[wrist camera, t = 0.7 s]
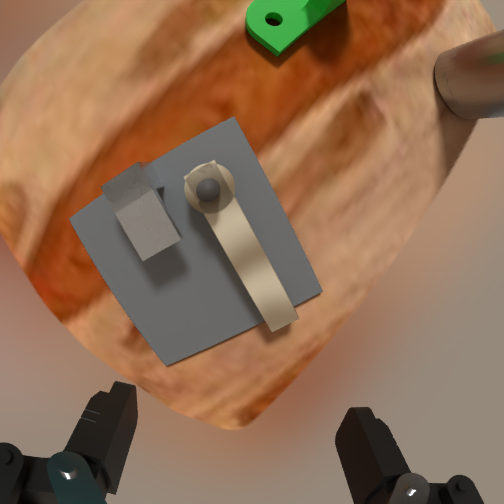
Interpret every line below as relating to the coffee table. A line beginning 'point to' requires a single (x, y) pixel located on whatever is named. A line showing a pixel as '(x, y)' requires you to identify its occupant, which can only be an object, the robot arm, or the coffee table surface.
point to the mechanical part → (285, 20)
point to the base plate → (196, 252)
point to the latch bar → (239, 241)
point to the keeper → (142, 209)
